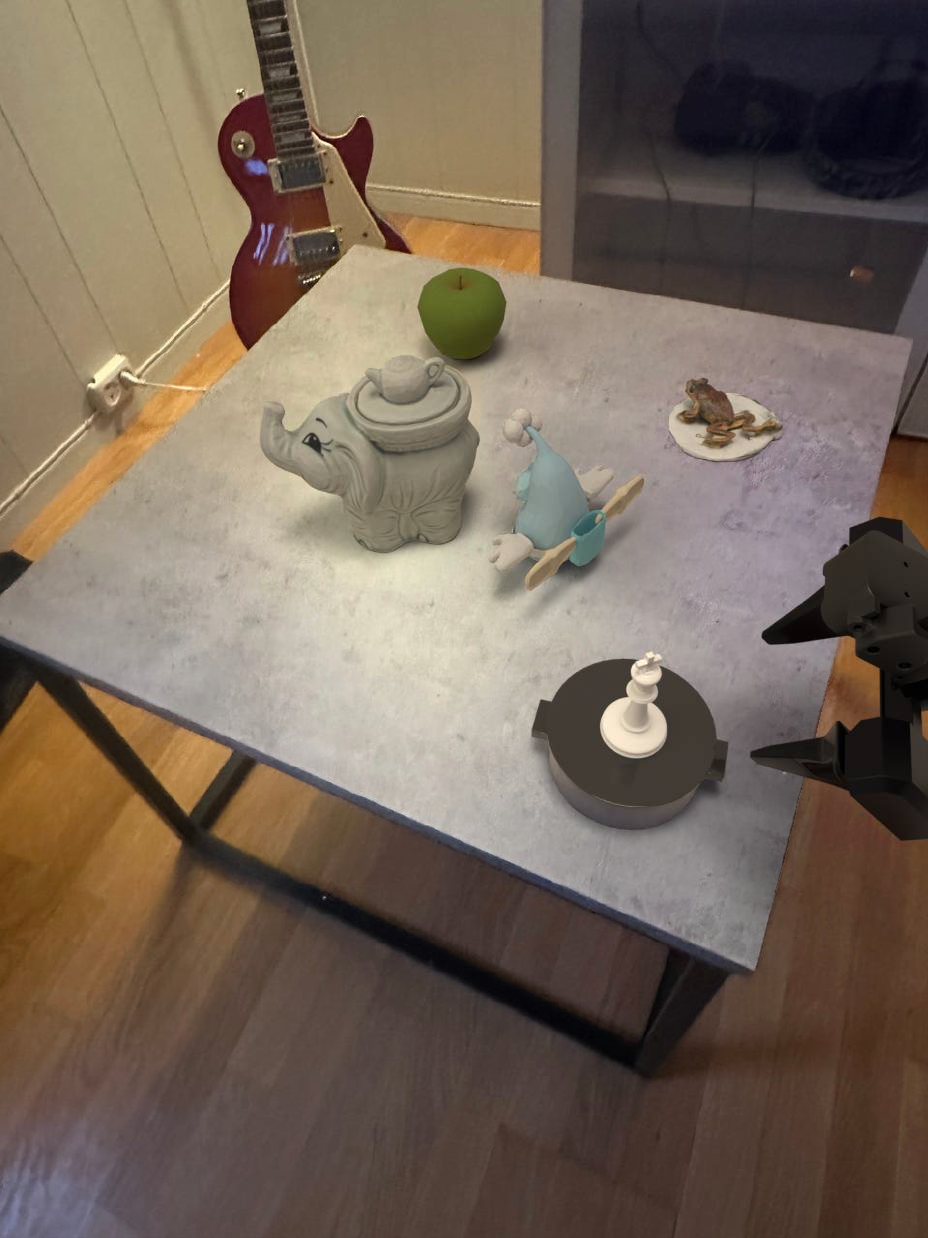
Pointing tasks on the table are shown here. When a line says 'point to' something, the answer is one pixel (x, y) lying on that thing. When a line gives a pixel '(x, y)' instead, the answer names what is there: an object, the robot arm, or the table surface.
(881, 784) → the robot arm
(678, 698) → the pot
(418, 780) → the table surface
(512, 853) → the table surface
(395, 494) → the teapot
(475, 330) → the apple
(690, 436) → the frog figurine
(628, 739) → the chess piece
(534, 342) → the table surface
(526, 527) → the toy figure
